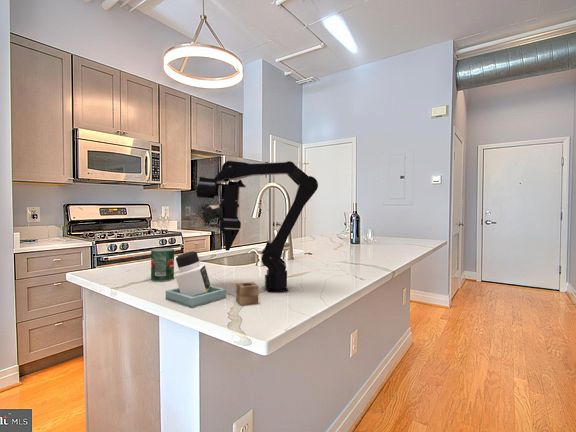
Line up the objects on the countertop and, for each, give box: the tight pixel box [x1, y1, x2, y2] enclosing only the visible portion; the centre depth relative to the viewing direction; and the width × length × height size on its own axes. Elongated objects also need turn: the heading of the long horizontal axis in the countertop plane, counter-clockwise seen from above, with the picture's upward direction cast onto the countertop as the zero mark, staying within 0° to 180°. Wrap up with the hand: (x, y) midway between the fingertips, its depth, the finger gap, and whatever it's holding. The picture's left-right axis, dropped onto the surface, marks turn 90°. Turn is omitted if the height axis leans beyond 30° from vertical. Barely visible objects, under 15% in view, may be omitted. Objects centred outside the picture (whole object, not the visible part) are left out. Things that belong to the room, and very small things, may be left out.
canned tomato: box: [150, 247, 175, 283], centre depth 113 cm, size 8×8×11 cm
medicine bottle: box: [175, 250, 212, 297], centre depth 90 cm, size 7×7×12 cm
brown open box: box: [235, 281, 259, 306], centre depth 88 cm, size 5×5×5 cm
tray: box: [165, 285, 227, 309], centre depth 90 cm, size 12×12×2 cm
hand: (226, 248), depth 101 cm, fingers open, 9 cm apart
